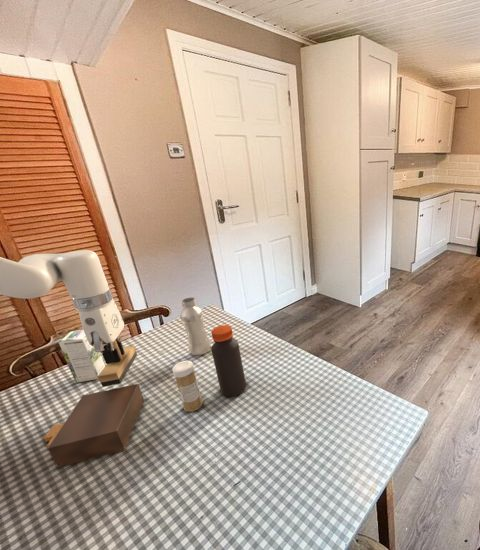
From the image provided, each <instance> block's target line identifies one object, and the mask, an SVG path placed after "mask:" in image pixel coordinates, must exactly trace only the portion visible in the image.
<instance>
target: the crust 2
mask: <svg viewBox="0 0 480 550" xmlns="http://www.w3.org/2000/svg"><path fill="white" fill-rule="evenodd" d="M58 432H59V431H56V432H55V434H54V435H53V437H52V438H51V440H50V441H48V443H47V445H46V448H47V449H48V447H49V446H50V444H51V443H52V441H53V440H54V438H55V437H56V435H57V434H58Z"/></svg>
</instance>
